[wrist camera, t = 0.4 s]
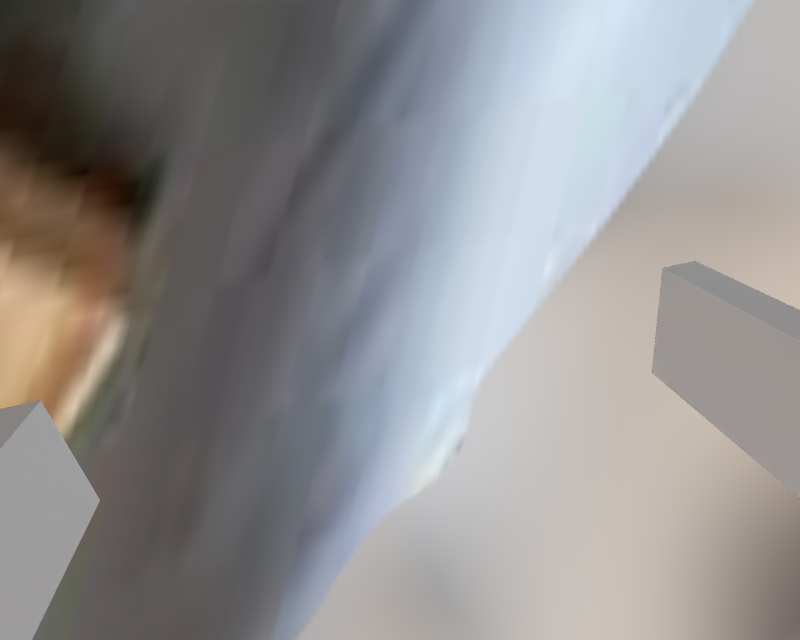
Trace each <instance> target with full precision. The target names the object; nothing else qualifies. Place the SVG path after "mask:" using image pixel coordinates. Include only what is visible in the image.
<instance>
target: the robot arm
mask: <svg viewBox="0 0 800 640" xmlns="http://www.w3.org/2000/svg"><path fill="white" fill-rule="evenodd" d="M652 373H653V374H654V375H655V376H656V377H658V378H659V379H660V380H661V381H662V382H664V383H665V384H666V385H667V386H668V387H669V388H671V389H672V390H673V391H674V392H675V393H676V394H678V395H679V396H680V397H681V398H682V399H683V400H685V401H686V402H687V403H688V404H689V405H691V406H692V407H693V408H694V409H695V410H697V411H698V412H699V413H700V414H701V415H702V416H703V417H705V418H706V419H707V420H708V421H709V422H710V423H712V424H713V425H714V426H715V427H716V428H718V429H719V430H720V431H721V432H722V433H723V434H725V435H726V436H727V437H728V438H729V439H731V440H732V441H733V442H734V443H735V444H736V445H738V446H739V447H740V448H741V449H742V450H743V451H745V452H746V453H747V454H748V455H749V456H751V457H752V458H753V459H754V460H755V461H757V462H758V463H759V464H760V465H761V466H762V467H763V468H765V469H766V470H767V471H768V472H769V473H771V474H772V475H773V476H774V477H775V478H776V479H778V480H779V481H780V482H781V483H782V484H784V485H785V486H786V487H787V488H788V489H789V490H790V491H792V492H793V493H794V494H795V495H796V496H798V497H799V498H800V310H798V309H796V308H794V307H792V306H790V305H787V304H785V303H783V302H781V301H779V300H777V299H775V298H773V297H770V296H768V295H766V294H764V293H762V292H760V291H758V290H755V289H753V288H751V287H749V286H747V285H745V284H743V283H741V282H738V281H736V280H734V279H732V278H730V277H728V276H726V275H723V274H721V273H719V272H717V271H715V270H713V269H711V268H709V267H706V266H704V265H702V264H700V263H698V262H696V261H693V262H688V263H684V264H679V265H674V266H670V267H665V268H663V269H662V278H661V288H660V298H659V308H658V318H657V327H656V337H655V348H654V356H653V367H652ZM99 501H100V500H99V498H98V496H97V495H96V493H95V491H94V489H93V488H92V486H91V484H90V483H89V481H88V479H87V478H86V476H85V474H84V473H83V471H82V469H81V468H80V466H79V464H78V463H77V461H76V459H75V458H74V456H73V454H72V452H71V451H70V449H69V447H68V446H67V444H66V442H65V441H64V439H63V437H62V436H61V434H60V432H59V431H58V429H57V427H56V426H55V424H54V422H53V421H52V419H51V417H50V415H49V414H48V412H47V410H46V409H45V407H44V405H43V404H42V402H41V400H40V401H35V402H31V403H26V404H21V405H17V406H12V407H7V408H3V409H0V640H32V638H33V636H34V634H35V632H36V630H37V628H38V626H39V624H40V622H41V620H42V618H43V616H44V614H45V612H46V610H47V608H48V606H49V604H50V602H51V600H52V598H53V596H54V593H55V591H56V589H57V587H58V585H59V583H60V581H61V579H62V577H63V575H64V573H65V571H66V569H67V567H68V565H69V563H70V561H71V559H72V557H73V555H74V553H75V551H76V548H77V546H78V544H79V542H80V540H81V538H82V536H83V534H84V532H85V530H86V528H87V526H88V524H89V522H90V520H91V518H92V516H93V514H94V512H95V510H96V508H97V505H98V503H99Z"/></svg>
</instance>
